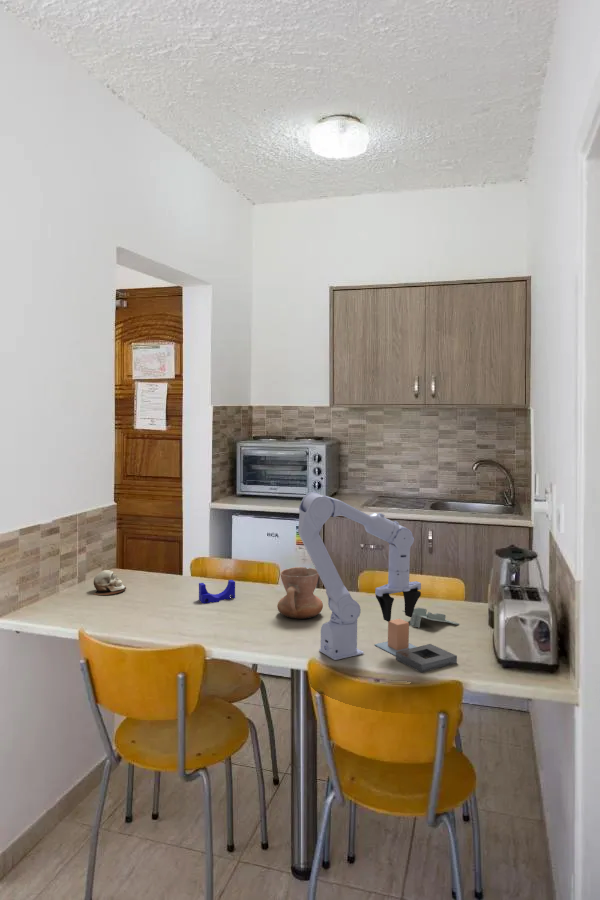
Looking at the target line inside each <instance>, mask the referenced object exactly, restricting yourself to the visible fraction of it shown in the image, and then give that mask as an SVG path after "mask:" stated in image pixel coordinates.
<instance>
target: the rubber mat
mask: <svg viewBox="0 0 600 900" xmlns="http://www.w3.org/2000/svg"><path fill="white" fill-rule="evenodd" d="M374 646H375V647H377V648H379V649H381V650H383V651H385V652H387V653H389V654H390V655H393V656H395V657H396V652H398V651H402V650H406V649H410V648H415V647H417V645H414V644H412V643H410V642H409V648H405V649H401V650H395V649H393V648H391V647H389V646H388V640H387V641H383V642H378V643H375V644H374Z"/></svg>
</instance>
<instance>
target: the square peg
mask: <svg viewBox="0 0 600 900" xmlns="http://www.w3.org/2000/svg"><path fill="white" fill-rule="evenodd" d="M387 625H388V626H387V641H388V646H389V647H391V648H393V649H395V650H401V649H405V648H409V643H410V642H409V641H410V640H409V637H410V635H409V634H410V621H409V622H408V621H406V620H404V619H402V618H395V619H391V620H390V621H389V622H388V621H387Z"/></svg>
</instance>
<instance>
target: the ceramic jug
mask: <svg viewBox="0 0 600 900" xmlns="http://www.w3.org/2000/svg"><path fill="white" fill-rule="evenodd" d="M279 574H280V578H281V582H282V585H283V588H284V589H285V592H286V595H285V596H283V597H282V598H280V599H279V600H278V602H277V604H276V607H277V611H278V612H279V613H280V614H281V615H283V616H285V617H287V618H291V619H297V620H302V619H305V620H306V619H310V618H314V617H316V616H318V615H319V614H320V613H321V612H322V610H323V608H324V604H323V601H322V600H321V598H319V597H318V596H316V595H315V594H314V592H315V590H316V587H317V584H318V581H319V578H320V576H319V574H318V572H317V570H316V568H315V567H314V568H313V567H308V568H307V567H305V566H295V567H294V566H293V567H290V568H289V567H288V568H285V569H283V570H281V571H280V572H279Z"/></svg>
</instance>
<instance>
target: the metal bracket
mask: <svg viewBox="0 0 600 900" xmlns="http://www.w3.org/2000/svg"><path fill="white" fill-rule="evenodd" d="M427 610H428V609H426V608H423V607H416V608H415V607H414V611H413V614H412V617H410V621H409V626H410V625H411V627H413V626H415V627H414V628H416V627H418V628H417V629H420V626H421V623H422V622H421V621H422V618H423V619H426V620H429V621H434V622H435V621H436V622H442V623H449V624H452V625H458V626H459V624H460V623H458V622H456V621H452V620H449V619H446V617H447V616H446V614H443V613H438V612H436V613H432V612H430V611H427ZM402 612H404V613H405V610H402Z"/></svg>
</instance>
